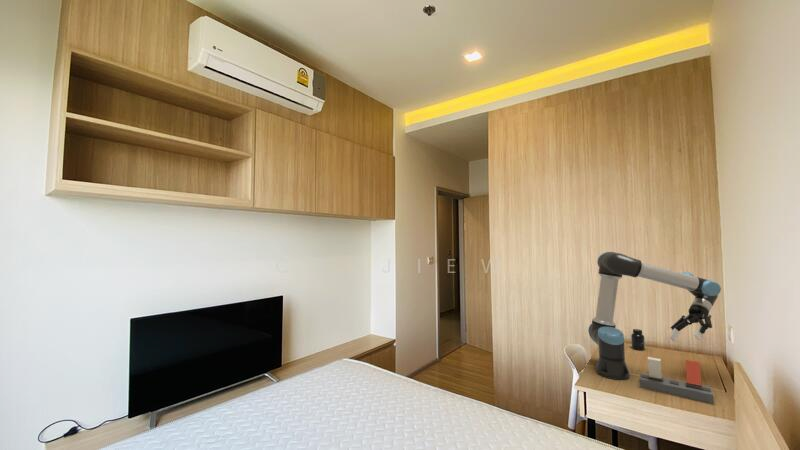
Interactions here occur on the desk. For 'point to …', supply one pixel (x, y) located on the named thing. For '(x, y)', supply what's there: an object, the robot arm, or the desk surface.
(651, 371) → the white rocker
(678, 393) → the grey slotted base
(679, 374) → the desk surface
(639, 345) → the supplement bottle
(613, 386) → the desk surface
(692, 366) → the red upright block
